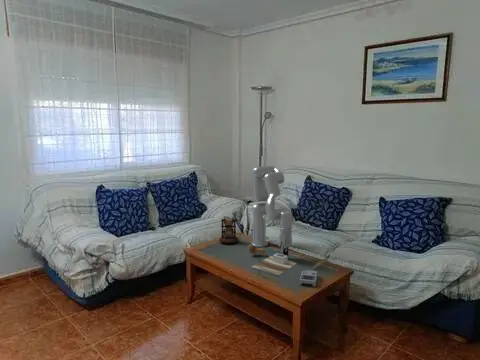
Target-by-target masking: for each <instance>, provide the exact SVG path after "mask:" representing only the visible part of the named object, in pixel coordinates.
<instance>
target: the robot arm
mask: <svg viewBox="0 0 480 360" xmlns="http://www.w3.org/2000/svg"><path fill="white" fill-rule="evenodd" d="M251 178H252V181H253V199H254V201H255V202H257V203H254V204H253V205H252V207H251V211H252V222H253V223H252V226H253V229H252V231H253V232H252V235H253V236H252V241H251V242H250V245H253V246H255V247H256V248H261V247H262V248H264V247H266V246H268V245H269V242H268V241H267V240H268V239H270V238H269V236H266V235H267V220H266V219H265V218H264V217H265V216H267V218H268V220H269V221H272V222H275V221H280V222H279V226H280V227H279V232H280V233H279V238H278V248H280V251H282V254H283V255H287V256H288V257H289V251H290V247H291V245H292V243H293V242H292V241H293V234H292V233H293V232H292V230H293V228H292V227H293V214H292V212H291V211H290V210H288V209H286V208H282V207H281V208H276V206H275V205H276V201H275V200H276V198H278V197H279V196H280V195H281V189H280V186H279V185H283V184H284V182H285V175H284V174H283V172H282V171H281V170H279V169H278V168H277V167H276V166H274V165H266V166H265V165H264V166H256V167H253V168H252V170H251Z"/></svg>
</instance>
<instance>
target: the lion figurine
mask: <svg viewBox="0 0 480 360" xmlns="http://www.w3.org/2000/svg"><path fill="white" fill-rule="evenodd" d="M246 248H247V251H248V252H249V253H250V254H252V257H253V256H254V257H256V256H255V255H256V254H261V255H262V256H263V257H265V258H267V257H268V253H267V251H266V249H265V248H264V247H262V248H261V247H257V246H253V245H252V244H249V245H247V247H246Z"/></svg>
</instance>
